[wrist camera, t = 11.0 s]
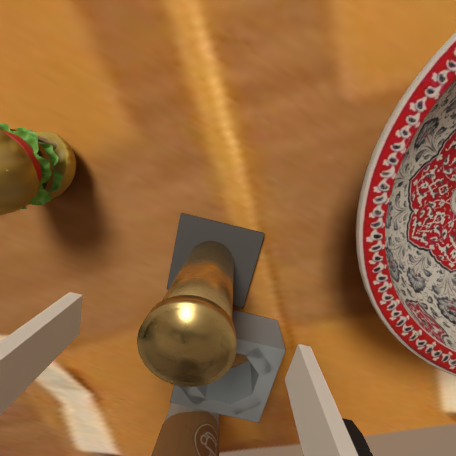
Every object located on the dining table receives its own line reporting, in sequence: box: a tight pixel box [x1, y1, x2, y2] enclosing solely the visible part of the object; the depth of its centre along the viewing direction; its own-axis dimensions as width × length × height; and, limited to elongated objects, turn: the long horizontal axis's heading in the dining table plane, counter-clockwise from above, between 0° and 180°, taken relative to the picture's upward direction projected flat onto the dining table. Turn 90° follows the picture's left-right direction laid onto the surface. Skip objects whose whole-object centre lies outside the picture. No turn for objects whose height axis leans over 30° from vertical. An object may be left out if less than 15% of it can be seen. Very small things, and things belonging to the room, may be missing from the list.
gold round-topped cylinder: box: [137, 241, 236, 387], centre depth 18 cm, size 6×6×12 cm
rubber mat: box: [167, 213, 264, 307], centre depth 24 cm, size 9×9×1 cm
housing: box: [170, 310, 285, 423], centre depth 25 cm, size 10×10×4 cm
